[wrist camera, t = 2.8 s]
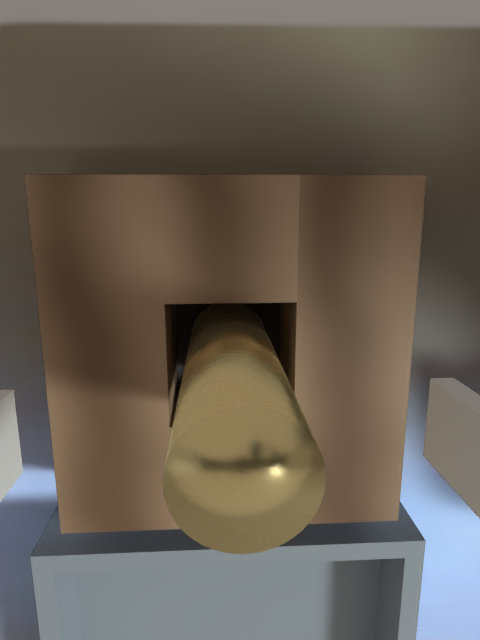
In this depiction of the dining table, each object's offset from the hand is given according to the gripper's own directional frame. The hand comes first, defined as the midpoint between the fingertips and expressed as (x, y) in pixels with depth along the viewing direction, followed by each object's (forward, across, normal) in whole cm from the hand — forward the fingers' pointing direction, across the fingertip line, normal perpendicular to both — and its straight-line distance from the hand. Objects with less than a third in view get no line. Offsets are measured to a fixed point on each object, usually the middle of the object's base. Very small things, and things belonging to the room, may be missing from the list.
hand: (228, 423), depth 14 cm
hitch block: (+11, 0, 0) cm, 11 cm away
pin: (+11, 0, 0) cm, 11 cm away
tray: (+11, 0, -18) cm, 21 cm away
